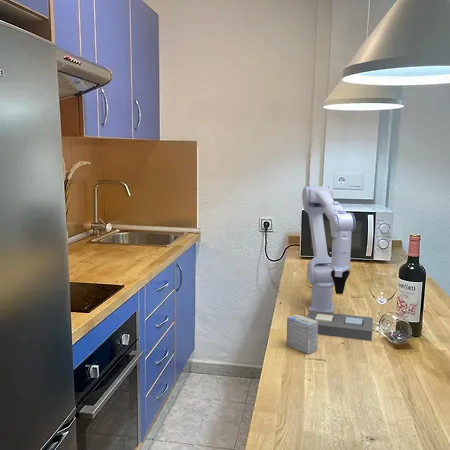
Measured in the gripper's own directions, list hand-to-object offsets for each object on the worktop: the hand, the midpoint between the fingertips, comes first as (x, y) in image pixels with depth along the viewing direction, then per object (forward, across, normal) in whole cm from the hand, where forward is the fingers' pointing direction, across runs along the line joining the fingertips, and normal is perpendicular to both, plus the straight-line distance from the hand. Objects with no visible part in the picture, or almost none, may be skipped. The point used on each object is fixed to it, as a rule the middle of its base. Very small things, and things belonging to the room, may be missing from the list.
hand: (339, 293), depth 148 cm
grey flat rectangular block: (+10, +4, 0) cm, 11 cm away
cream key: (+10, +4, -4) cm, 11 cm away
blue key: (+10, +4, +5) cm, 12 cm away
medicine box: (+11, +22, -8) cm, 26 cm away
